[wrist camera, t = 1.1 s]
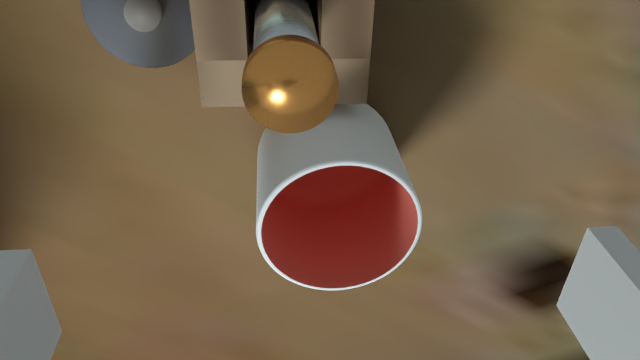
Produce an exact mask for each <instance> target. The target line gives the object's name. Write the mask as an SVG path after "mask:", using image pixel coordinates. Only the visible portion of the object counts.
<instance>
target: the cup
mask: <svg viewBox="0 0 640 360" xmlns="http://www.w3.org/2000/svg"><path fill="white" fill-rule="evenodd" d="M421 227H422V210H421V205H420V202H419V199H418V197H417V195H416V192H415V190H414V187H413V185H412V183H411V180H410V178H409V175H408V173H407V171H406V168H405V166H404V163H403V161H402V159H401V156H400V154H399V151H398V149H397V147H396V144H395V142H394V140H393V137H392V135H391V132H390V130H389V128H388V126H387V124H386V122H385V121H384V120H383V118H382V117H381V116H380V115H379V113H378V112H377V111H375V110H374V109H373V108H372V107H371V106H369V105H368V104H336V105H335V107H334V109H333V111H332V112H331V113H330V115H329V116H328V117H327V118H326V119H325V120H324V121H323V122H322V123H320V124H319V125H317V126H316V127H314V128H312V129H310V130H307V131H304V132H299V133H280V132H276V131H273V130H270V129H268V128H265V130H264V132H263V134H262V136H261V140H260V143H259V147H258V158H257V210H256V236H257V242H258V246H259V248H260V251H261V253H262V255H263V257H264V259H265V260H266V261H267V263H268V264H269V265H270V266H271V267H272V268H273V269H274V270H275V271H276V272H277V273H278V274H280V275H281V276H283V277H284V278H286V279H287V280H289V281H291V282H293V283H296V284H298V285H301V286H304V287H308V288H313V289H319V290H345V289H351V288H356V287H360V286H363V285H367V284H369V283H372V282H374V281H376V280H378V279H380V278H382V277H384V276H386V275H387V274H389V273H390V272H392V271H393V270H394V269H396V268H397V267H398V266H399V265H400V264H401V263H402V262H403V261H404V260H405V259H406V258H407V257H408V256H409V254H410V253H411V252H412V250H413V248H414V247H415V245H416V243H417V241H418V238H419V236H420V232H421Z"/></svg>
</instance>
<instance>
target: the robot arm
mask: <svg viewBox="0 0 640 360" xmlns="http://www.w3.org/2000/svg"><path fill="white" fill-rule="evenodd" d="M557 307H558V309H559V310H560V312H561V313H562V315H563V317H564V318H565V320H566V322H567V323H568V325H569V326H570V328H571V330H572V331H573V333H574V334H575V336H576V338H577V339H578V341H579V343H580V344H581V346H582V347H583V349H584V351H585V352H586V354H587V355H588V357H589V359H590V360H640V252H639V250H638V249H637V248H636V247H635V246H634V245H633V244H632V243H631V241H630V240H629V239H628V238H627V237H626V236H625V235H624V234H623V233H622V231H621V230H620V229H619V228H618V227H617V226H610V227H588V228H587V230H586V233H585V235H584V238H583V240H582V243H581V245H580V248H579V250H578V253H577V255H576V258H575V260H574V263H573V265H572V267H571V270H570V272H569V275H568V277H567V280H566V282H565V285H564V287H563V290H562V292H561V295H560V297H559V300H558V302H557ZM61 333H62V330H61V327H60V325H59V322H58V319H57V317H56V314H55V311H54V309H53V306H52V303H51V300H50V298H49V295H48V292H47V290H46V287H45V284H44V282H43V279H42V276H41V274H40V271H39V268H38V265H37V263H36V260H35V257H34V255H33V252H32V249H22V250H0V360H51V358H52V355H53V353H54V350H55V348H56V345H57V343H58V340H59V338H60V335H61Z"/></svg>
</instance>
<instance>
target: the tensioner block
mask: <svg viewBox="0 0 640 360" xmlns="http://www.w3.org/2000/svg"><path fill="white" fill-rule="evenodd" d="M374 4H375V0H314V26H315V30H316V34H317V38H318V42H319V45H320V46H322V47H323V48H324V49H325V50H326V52H327V53H328V54H329V56H330V57H331V59H332V61H333V63H334V66H335V70H336V73H337V76H338V81H339V95H338V99H337V102H336V104H367V96H368V83H369V70H370V57H371V43H372V30H373V17H374ZM81 6H82V12H83V15H84V18H85V21H86V23H87V25H88V28H89V29H90V31H91V33H92V34H93V36H94V37H95V38H96V40H97V41H98V42H99V43H100V44H101V45H102V46H103V47H104V48H105V49H106V50H107V51H108V52H110V53H111V54H113V55H114V56H115V57H117V58H119V59H121V60H123V61H125V62H127V63H130V64H132V65H136V66H140V67H146V68H159V67H166V66H170V65H173V64H175V63H177V62H179V61H181V60H183V59H184V58H186V57H187V56H188V55H189V54H191V53H192V52H193V50H194V49H195V54H196V63H197V71H198V80H199V88H200V97H201V105H202V107H241V106H245V104H244V101H243V98H242V75H243V69H244V66H245V63H246V61H247V59H248V57H249V56H250V54H251V53H252V52H253V46H254V32H250V28H249V10H248V0H81Z"/></svg>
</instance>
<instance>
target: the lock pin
mask: <svg viewBox="0 0 640 360" xmlns="http://www.w3.org/2000/svg"><path fill="white" fill-rule="evenodd" d="M338 95H339V81H338V76H337V73H336V70H335V66H334V63H333V61H332V59H331V57H330V56H329V54H328V53H327V52H326V50H325V49H324V48H323V47H322V46H320V45H319V42H318V38H317V34H316V30H315V26H314V22H313V18H312V15H311V11H310V7H309V3H308V0H256V4H255V25H254V46H253V52H252V53H251V54H250V56H249V57H248V59H247V61H246V63H245V66H244V69H243V75H242V98H243V101H244V104H245V106H246V109H247V110H248V112H249V113H250V115H251V116H252V117H253V118H254V119H255V120H256V121H257V122H258V123H260V124H261V125H262V126H264V127H266V128H268V129H270V130H273V131H276V132H280V133H299V132H304V131H307V130H310V129H312V128H314V127H316V126H317V125H319V124H320V123H322V122H323V121H324V120H325V119H326V118H327V117H328V116H329V115H330V113H331V112H332V111H333V109H334V107H335V105H336V102H337V99H338Z"/></svg>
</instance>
